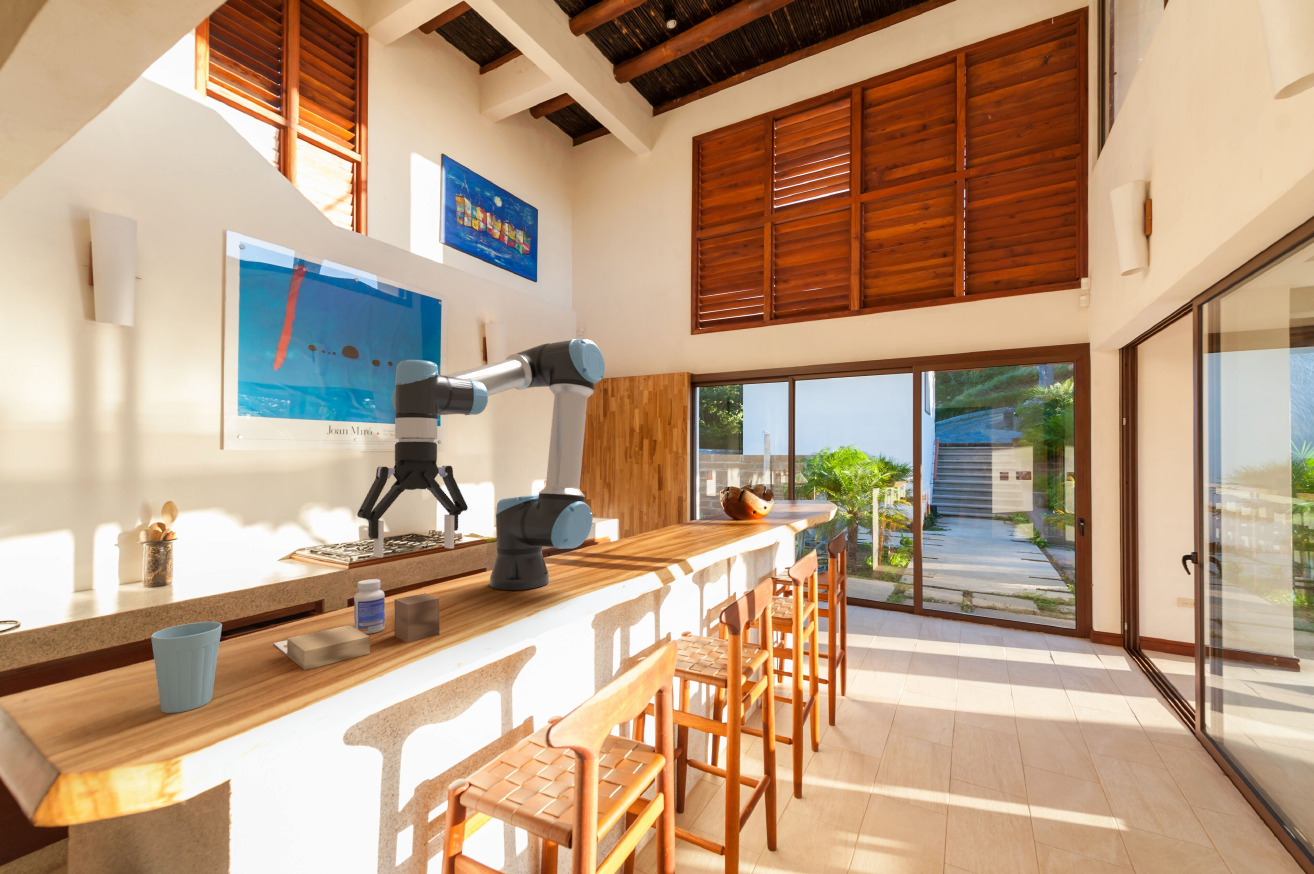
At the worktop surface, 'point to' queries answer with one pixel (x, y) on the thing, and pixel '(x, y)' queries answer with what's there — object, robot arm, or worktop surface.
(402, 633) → the walnut block
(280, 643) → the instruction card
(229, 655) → the worktop surface
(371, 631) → the pill bottle
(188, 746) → the worktop surface
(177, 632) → the cup
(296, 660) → the oak base slab
